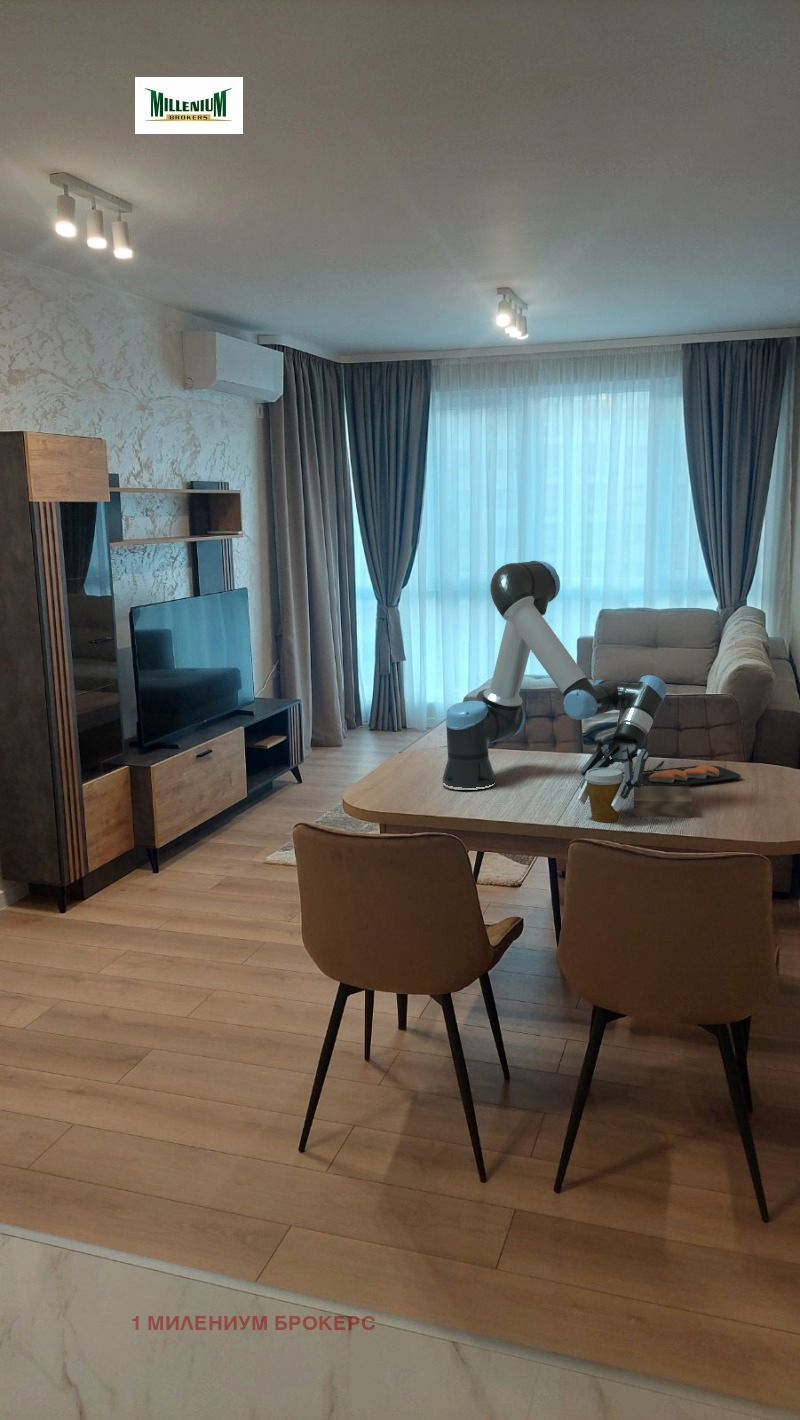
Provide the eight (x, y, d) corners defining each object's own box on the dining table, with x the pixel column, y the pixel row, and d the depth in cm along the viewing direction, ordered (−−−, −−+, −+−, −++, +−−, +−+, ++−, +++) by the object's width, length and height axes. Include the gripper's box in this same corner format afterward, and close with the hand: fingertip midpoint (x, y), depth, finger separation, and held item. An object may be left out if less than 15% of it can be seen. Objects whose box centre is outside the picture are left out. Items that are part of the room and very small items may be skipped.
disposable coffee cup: (622, 812, 250) (621, 766, 248) (626, 824, 241) (626, 776, 239) (583, 813, 251) (582, 767, 249) (587, 824, 242) (586, 777, 240)
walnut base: (633, 815, 247) (633, 800, 247) (633, 800, 261) (633, 785, 260) (692, 817, 244) (692, 801, 243) (689, 801, 257) (689, 786, 257)
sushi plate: (652, 794, 267) (652, 780, 267) (600, 770, 296) (599, 757, 295) (745, 782, 275) (745, 769, 274) (685, 759, 303) (685, 747, 303)
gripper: (676, 743, 246) (642, 820, 238) (602, 733, 261) (567, 805, 253) (665, 726, 241) (630, 804, 233) (590, 717, 256) (554, 789, 248)
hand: (597, 804), depth 243 cm, fingers closed on disposable coffee cup, 9 cm apart
